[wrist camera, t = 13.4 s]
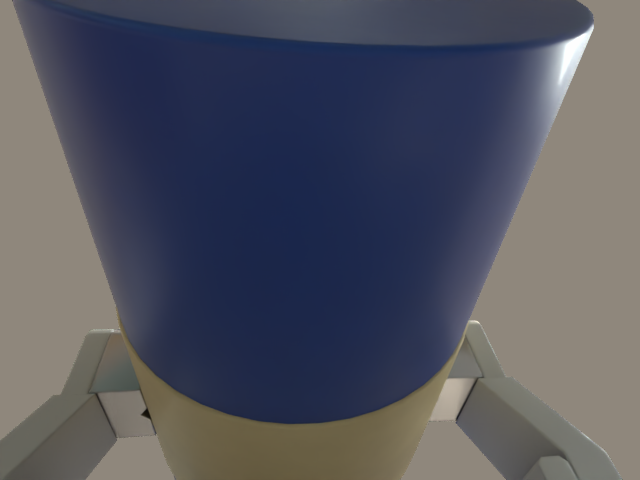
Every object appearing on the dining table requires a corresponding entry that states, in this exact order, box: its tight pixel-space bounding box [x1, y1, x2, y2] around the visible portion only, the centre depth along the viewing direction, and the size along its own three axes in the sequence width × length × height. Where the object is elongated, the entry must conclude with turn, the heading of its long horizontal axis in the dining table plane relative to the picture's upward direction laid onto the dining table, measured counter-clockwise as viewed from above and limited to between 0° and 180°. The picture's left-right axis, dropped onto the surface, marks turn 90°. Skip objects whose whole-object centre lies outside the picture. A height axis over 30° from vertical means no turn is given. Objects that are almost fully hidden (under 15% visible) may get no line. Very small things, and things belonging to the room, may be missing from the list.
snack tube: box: [12, 0, 594, 480], centre depth 9 cm, size 6×6×13 cm
